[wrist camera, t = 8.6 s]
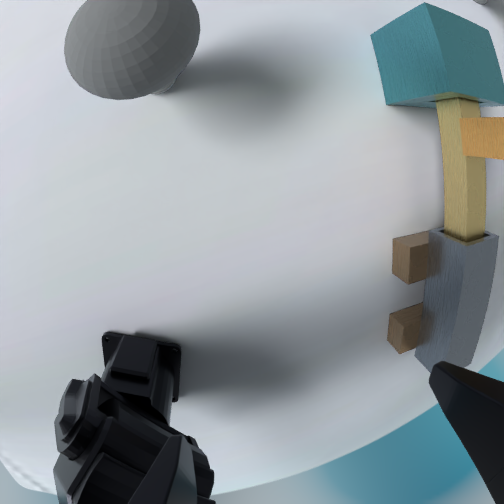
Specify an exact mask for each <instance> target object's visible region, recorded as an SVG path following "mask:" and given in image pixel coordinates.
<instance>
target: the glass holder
mask: <svg viewBox="0 0 504 504" xmlns="http://www.w3.org/2000/svg"><path fill="white" fill-rule="evenodd" d="M474 1H475V2H477V3H479V4H486V3H487V1H488V0H474Z"/></svg>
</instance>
